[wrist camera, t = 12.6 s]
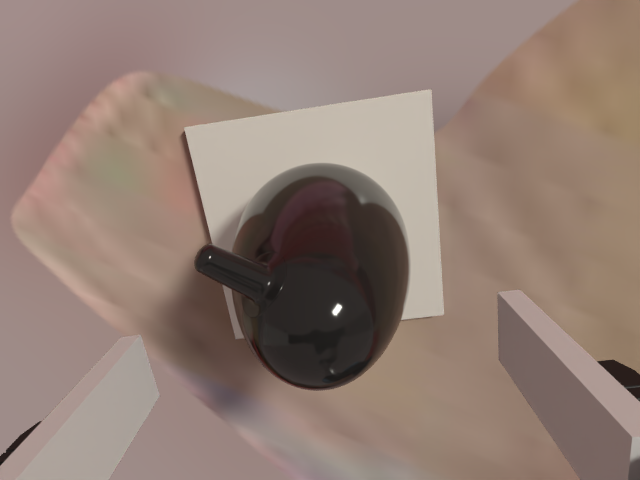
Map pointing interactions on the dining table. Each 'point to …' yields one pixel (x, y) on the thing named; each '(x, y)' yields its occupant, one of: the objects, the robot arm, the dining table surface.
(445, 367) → the dining table surface
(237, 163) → the ceramic tile
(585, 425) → the robot arm
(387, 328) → the pump dispenser
